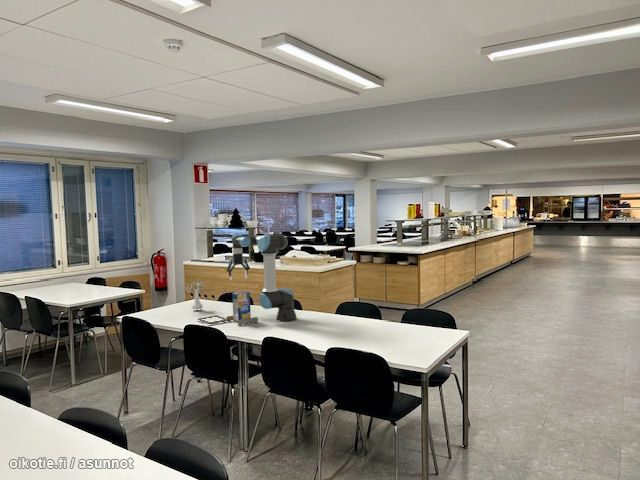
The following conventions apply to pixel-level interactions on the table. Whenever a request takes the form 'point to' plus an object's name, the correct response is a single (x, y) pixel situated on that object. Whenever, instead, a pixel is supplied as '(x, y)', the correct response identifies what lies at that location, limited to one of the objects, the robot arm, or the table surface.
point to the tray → (214, 321)
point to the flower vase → (196, 294)
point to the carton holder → (244, 320)
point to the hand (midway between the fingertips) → (238, 279)
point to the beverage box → (241, 306)
